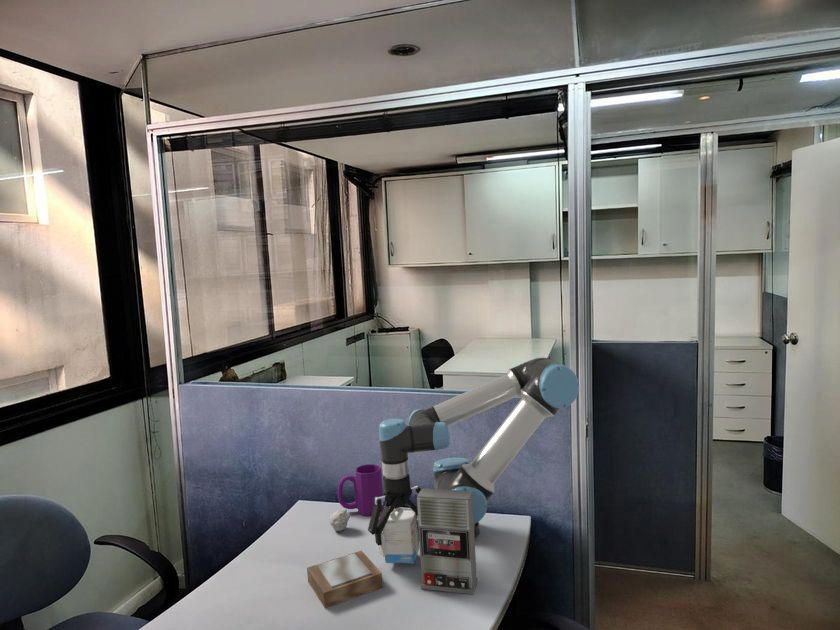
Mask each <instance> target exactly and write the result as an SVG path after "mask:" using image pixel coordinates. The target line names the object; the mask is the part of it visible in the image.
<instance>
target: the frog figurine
mask: <svg viewBox="0 0 840 630" xmlns="http://www.w3.org/2000/svg"><path fill="white" fill-rule="evenodd" d="M347 510H348V509H346V508H340V509H338V510H337V511H334V512H333V513H332V514H331V515H330V516H329V524H330V526H331V527H332V528H333V530H334V531H337V532H343V531H344V530H345V529H346V527H347V526H348V522H349V521H350V519H351V513H350V512H349V511H347Z"/></svg>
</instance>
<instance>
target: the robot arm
mask: <svg viewBox="0 0 840 630" xmlns="http://www.w3.org/2000/svg"><path fill="white" fill-rule="evenodd" d="M579 392H580V385H579V379H578V376H577V374H576V373H575V372H574V371H573V370H572V369H570V367H568V366H566V365H565V364H564V363H561V362H558V361H555V360H553V359H552V358H548V357H536V358H533V359H530V360H528V361H525V362H522V363H520V364H518V365H516V366H514V367H511V368H509V369H507V371H506V374H504V375H501V376H499V377H497V378H495V379H492V380H490V381H488V382H485V383H483V384H481V385H478V386H477V387H474V388H472V389H470V390H467V391H465V392H463V393H461V394H458V395H455V396H453V397H451V398H449V399H447V400H445V401H442V402H440V403H438V404H436V405H434V406H431V407H427V408H418V409H415V410H413V411H412V412H411V413H410V415H409V417H408V425H407V424H406V421H405V420H404V419H403V418H389V419H385V420H383V421H382V422H380V424H379V427H378V430H379V433H378V434H379V447H380V458H381V472H382V485H383V490H384V491H383V492H384V493H383V496H381V497H377V496H375V497H374V508H373V512H372V516H370V519H369V520H370V521H369V523H368V526H367V531H368V533H370V534H371V535H372V536H374V538H375V539H374V540H375V543H376V545H377V546H378V549H379V551H378V552H379V554H380V555H381V556H382V557H383V558H385V557H386V550H385V538H384V533H383V529H384V527H385V525H386V523H387V520H388V518H389V516H390V514H391V513H392V512H393V510H394V509H396V508H399V507H400V508H402V507H406V506H408V507H409V509H410V511H414V512H415V513H416V515H417V524H418V510H417V505H415V504H414V502H412V500H411V499H410V498H411V496H412V494H413V495H414V497H415V499H416V500H417V495H418V494H419V492H420V491H421V489H422V488H421V487H420V486H418V485H417V484H414V485H413V486H412V487H411V477H410V474H409V473H410V466H409V464H410V463H409V453H420V452H421V453H422V452H429V451H439V450H443V449H444V450H445V449H447V448H448V447H450V440H451V439H450V431H449V427H450V426H453V425H455V424H457V423H460V422H462V421H465V420H466V419H469V418H471V417H474V416H475V415H478V414H480V413H483V412H484V411H487V410H489V409H492V408H494V407H496V406H498V405H501V404H503V403H505V402H508V401H510V400H512V399H515V398H519V399H520V400H519V401H518V402H517V404H516V405H515V406H514V408H513V409H512V410H511V412H510V413H509V414H508V415H507V416H506V417H505V419H504V420H503V421H502V423H501V424H500V425H499V427H498V428H497V429H496V430H495V431H494V433H493V434H492V436H491V437H490V438H489V439H488V440H487V442H486V443H485V445H484V446H483V447H482V448H481V450H480V451H479V452H478V453H477V454H476V456H475V457H474V458H473V460H472V461H470V460H469V459H468V458H465V457H446V458H440V459H439V460H436V461H435V462H434V464H433V469H432V470H433V471H432V473H433V485H434V489H442V490H460V491H472V498H473V518H474V537H475V538H477V536H479V535H480V530H481V529H480V521H481V520H482V519H483V518H484V517H485V515H486V513H487V511H488V501H489V500H490V498H492V496H493V494H494V493H495V483H496V481H497V480H498V479H499V477H500V476H501V475H502V474H503V473H504V471H505V470H506V469H507V467H508V466H509V465H510V464H511V462H512V461H513V460H514V459H515V457H516V456H517V455H518V453H519V452H520V451H521V450H522V448H523V447H524V446H525V444H526V443H527V442H528V440H529V439H530V438H531V437H532V436H533V434H534V433H535V432H536V430H537V429H538V428H539V426H540V425H541V424H542V423H543V422H544V420H545V419H546V418H553V417H555V415H556V413H558V411H559V410H560V409H562V408H566V407H569V406H570V405H572V404H573V403H574V402H575V401H576V399H577V398H578V395H579ZM383 502H385V503H384V509H383V511H382V512H381V508H382V505H383ZM418 536H419V526H418Z"/></svg>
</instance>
